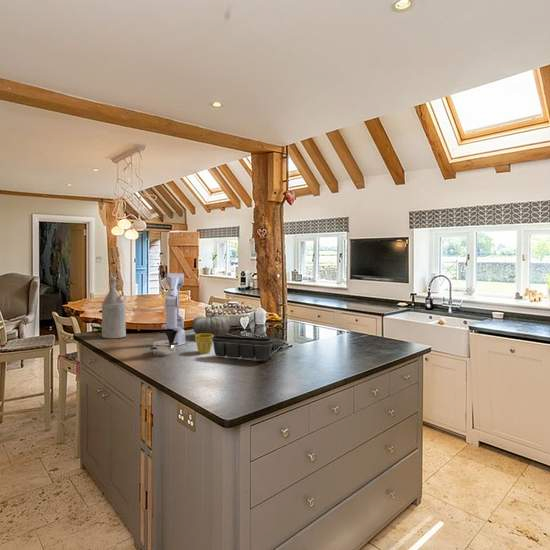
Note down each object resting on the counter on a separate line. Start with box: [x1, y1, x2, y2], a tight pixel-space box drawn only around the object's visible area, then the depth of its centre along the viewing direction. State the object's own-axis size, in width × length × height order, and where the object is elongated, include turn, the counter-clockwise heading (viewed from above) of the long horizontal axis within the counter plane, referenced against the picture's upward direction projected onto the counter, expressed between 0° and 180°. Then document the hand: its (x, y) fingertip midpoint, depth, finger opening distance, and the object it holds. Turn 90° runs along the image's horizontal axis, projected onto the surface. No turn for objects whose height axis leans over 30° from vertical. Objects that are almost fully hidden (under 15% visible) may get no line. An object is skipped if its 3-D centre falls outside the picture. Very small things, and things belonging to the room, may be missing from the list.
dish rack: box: [211, 329, 287, 360], centre depth 226 cm, size 34×44×12 cm
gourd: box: [191, 311, 231, 336], centre depth 265 cm, size 25×25×17 cm
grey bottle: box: [101, 276, 127, 339], centre depth 259 cm, size 13×17×40 cm
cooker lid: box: [152, 339, 176, 346], centre depth 218 cm, size 12×14×1 cm
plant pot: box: [194, 334, 214, 355], centre depth 223 cm, size 10×10×10 cm
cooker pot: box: [149, 342, 179, 357], centre depth 219 cm, size 17×12×5 cm
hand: (171, 343), depth 215 cm, fingers closed, pressing on cooker lid
